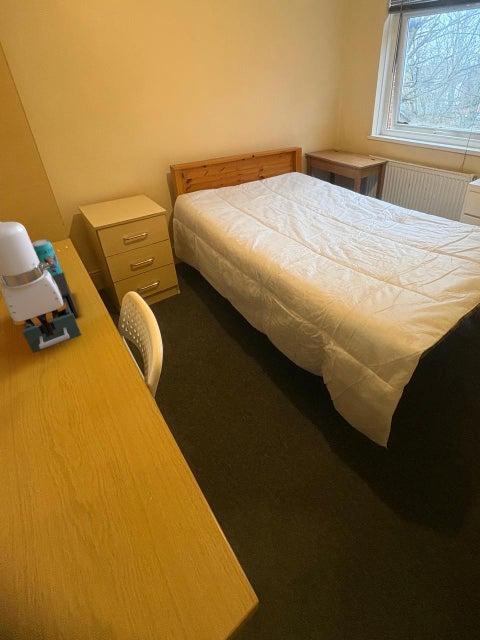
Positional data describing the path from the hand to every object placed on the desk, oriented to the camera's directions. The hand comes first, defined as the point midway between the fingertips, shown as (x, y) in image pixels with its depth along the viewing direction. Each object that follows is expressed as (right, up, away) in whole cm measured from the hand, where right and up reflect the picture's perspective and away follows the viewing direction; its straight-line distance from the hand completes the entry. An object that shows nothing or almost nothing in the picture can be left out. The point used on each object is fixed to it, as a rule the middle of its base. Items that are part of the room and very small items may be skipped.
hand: (50, 333), depth 83 cm
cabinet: (-16, 0, +22) cm, 27 cm away
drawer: (-7, -4, +12) cm, 14 cm away
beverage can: (-30, +10, +40) cm, 51 cm away
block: (-9, -3, +12) cm, 15 cm away
